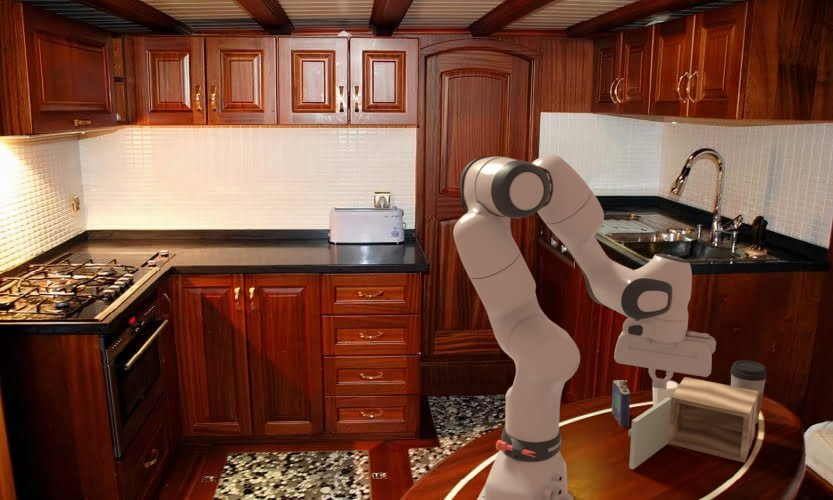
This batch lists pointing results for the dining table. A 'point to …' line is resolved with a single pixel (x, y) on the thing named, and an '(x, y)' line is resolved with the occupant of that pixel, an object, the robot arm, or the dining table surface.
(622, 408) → the flask
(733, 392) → the oak cabinet
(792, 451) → the dining table surface
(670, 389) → the white cylinder
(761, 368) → the coffee cup
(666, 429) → the side door
